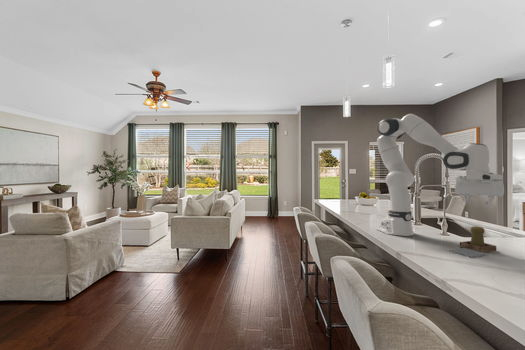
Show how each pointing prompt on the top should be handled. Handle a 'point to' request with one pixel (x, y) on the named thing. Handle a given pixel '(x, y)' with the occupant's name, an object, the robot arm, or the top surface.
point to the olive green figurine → (477, 236)
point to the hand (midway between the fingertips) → (477, 204)
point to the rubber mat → (467, 252)
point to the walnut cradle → (476, 248)
